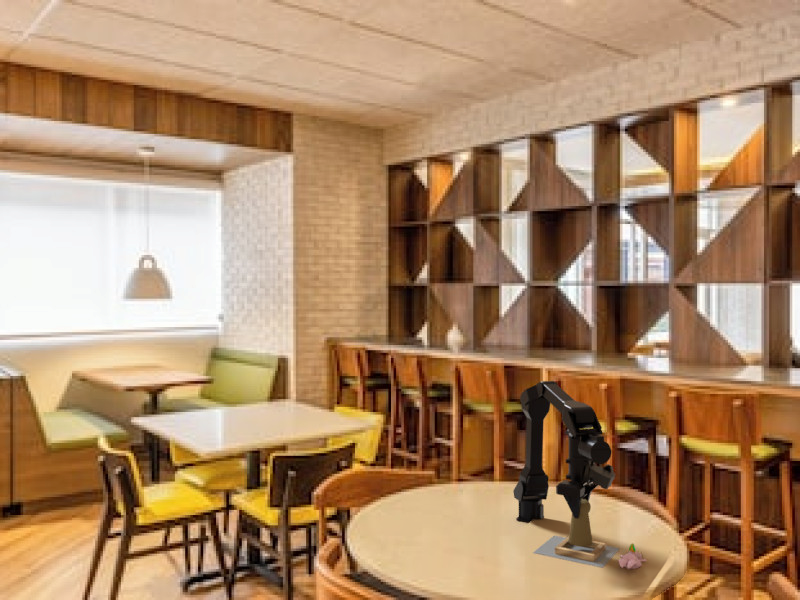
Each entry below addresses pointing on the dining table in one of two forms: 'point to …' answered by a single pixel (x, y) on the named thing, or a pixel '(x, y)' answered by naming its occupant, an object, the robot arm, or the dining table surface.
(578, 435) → the robot arm
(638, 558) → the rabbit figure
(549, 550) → the grey base plate
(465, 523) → the dining table surface
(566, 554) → the snap socket
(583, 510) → the tan tapered cylinder
